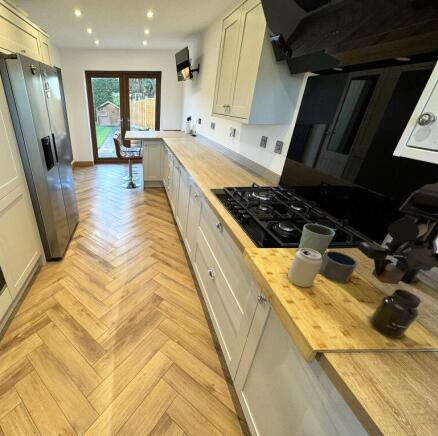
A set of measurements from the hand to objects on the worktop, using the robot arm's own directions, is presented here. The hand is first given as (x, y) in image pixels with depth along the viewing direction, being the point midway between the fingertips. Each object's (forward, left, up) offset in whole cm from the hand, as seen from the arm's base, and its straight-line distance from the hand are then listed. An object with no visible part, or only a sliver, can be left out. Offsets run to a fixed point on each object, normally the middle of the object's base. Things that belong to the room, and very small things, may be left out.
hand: (385, 276), depth 73 cm
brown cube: (0, 0, -1) cm, 1 cm away
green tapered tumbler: (-1, -24, -8) cm, 25 cm away
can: (+18, -13, -8) cm, 24 cm away
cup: (+2, -12, -8) cm, 14 cm away
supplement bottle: (+12, +9, -8) cm, 17 cm away
